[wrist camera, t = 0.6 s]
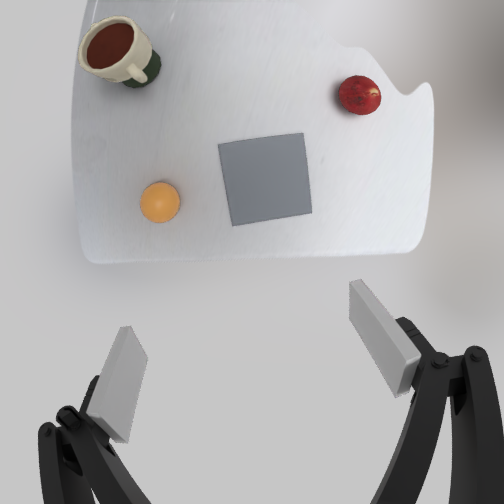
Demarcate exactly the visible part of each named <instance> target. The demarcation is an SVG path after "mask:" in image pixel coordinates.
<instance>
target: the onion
mask: <svg viewBox="0 0 504 504" xmlns="http://www.w3.org/2000/svg"><path fill="white" fill-rule="evenodd" d="M339 99H340V101H341V103H342V105H343V106H344V107H345V108H346V109H347V110H348V111H349V112H352V113H355V114H357V115H367V114H370V113H372V112H374V111H375V110H376V109H377V108H378V107H379V105H380V102H381V93H380V90H379V88H378V86H377V85H376V84H375V83H374V82H373V81H372V80H371V79H369V78H367V77H365V76H357V75H356V76H352V77H349V78H347V79H346V80H345V81H344V82H343V83H342V84H341V86H340V89H339Z"/></svg>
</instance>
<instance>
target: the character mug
mask: <svg viewBox="0 0 504 504" xmlns="http://www.w3.org/2000/svg"><path fill="white" fill-rule="evenodd" d="M78 60H79V64H80V66H81V67H82V68H83V69H84V70H86V71H88V72H90V73H92V74H94V75H96V76H98V77H102V78H104V79H106V80H107V81H110V82H123V83H124V84H125V85H126V86H129V87H133V88H137V87H143V86H145V85H147V84H148V83H150V82H151V81H152V80H153V79H154V78H155V77H156V76H157V74H158V73H159V70H160V67H161V61H160V57H159V55H158V54H157V53H156V52H155V51H154V50H152V44H151V42H150V40H149V39H148V37H147V35H146V34H145V33H144V32H143V31H142V29H141V28H140V27H139V26H138V25H137V23H136V22H135V21H134V20H132V19H130V18H128V17H126V16H112V17H108V18H105V19H103V20H101V21H100V22H98V23H93V24H92V25H91V28H90V30H89V31H88V32H87V33H86V34H85V36H84V37H83V39H82V41H81V44H80V46H79V50H78Z"/></svg>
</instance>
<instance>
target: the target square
mask: <svg viewBox="0 0 504 504" xmlns="http://www.w3.org/2000/svg"><path fill="white" fill-rule="evenodd" d="M218 148H219V153H220V159H221V165H222V170H223V176H224V182H225V187H226V193H227V198H228V204H229V209H230V215H231V220H232V226H237V225H243V224H249V223H254V222H260V221H266V220H272V219H278V218H284V217H291V216H297V215H303V214H310V213H312V205H311V195H310V185H309V175H308V166H307V158H306V150H305V142H304V135H303V133H298V134H288V135H280V136H271V137H264V138H256V139H250V140H243V141H237V142H231V143H225V144H219V145H218Z"/></svg>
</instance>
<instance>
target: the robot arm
mask: <svg viewBox="0 0 504 504" xmlns="http://www.w3.org/2000/svg"><path fill="white" fill-rule="evenodd" d="M349 285H350V286H349V288H350V289H349V290H350V309H349V311H350V312H349V313H350V314H349V319H350V321H351V322H352V324H353V326H354V327H355V329H356V331H357V332H358V334H359V336H360V337H361V339H362V341H363V342H364V344H365V346H366V347H367V349H368V351H369V353H370V354H371V356H372V358H373V359H374V361H375V363H376V365H377V366H378V368H379V370H380V372H381V373H382V375H383V377H384V379H385V380H386V382H387V384H388V386H389V388H390V389H391V391H392V392H393V395H394V396H395V398H397V397H399V396H402V395H404V394H406V393H408V392H409V390H410V387H411V385H412V387H413V388H414V390H415V392H414V395H413V397H412V400H411V405H410V409H409V412H408V415H407V418H406V422H405V424H404V427H403V430H402V433H401V436H400V438H399V441H398V444H397V446H396V449H395V452H394V454H393V456H392V459H391V461H390V464H389V466H388V469H387V471H386V473H385V475H384V477H383V479H382V482H381V483H380V486H379V488H378V490H377V492H376V494H375V496H374V497H373V499H372V501H371V503H370V504H415V503H416V501H417V498H418V496H419V494H420V491H421V489H422V486H423V484H424V481H425V478H426V475H427V472H428V469H429V467H430V464H431V460H432V457H433V454H434V451H435V447H436V443H437V440H438V436H439V432H440V428H441V424H442V420H443V414H444V410H445V404H446V399H447V397H450V405H451V420H452V473H451V488H450V498H449V504H504V434H503V426H502V418H501V412H500V406H499V401H498V396H497V391H496V386H495V382H494V378H493V373H492V369H491V366H490V362H489V358H488V355H487V353H486V351H485V350H484V349H483V348H481V347H479V346H471V347H469V348H467V350H466V351H465V353H464V355H460V356H454V357H449V356H447V355H446V354H445V353H442V352H436V351H435V350H434V348H433V347H432V346H431V344H430V343H429V342H428V341H427V340H426V338H425V337H424V336H423V335H422V334H421V332H420V331H419V330H418V329H417V328H416V326H415V325H414V324H413V323H412V321H410V320H408V319H407V318H405V317H401V318H398V319H394V318H393V317H392V316H391V315H390V314H389V312H388V311H387V309H386V308H385V307H384V306H383V305H382V303H381V302H380V301H379V300H378V298H377V297H376V296H375V295H374V294H373V292H372V291H371V290H370V289H369V288H368V287H367V285H366V284H365V283H364V282H363V281H362V279H359V280H355V281H351V282H350V284H349ZM147 361H148V357H147V355H146V353H145V351H144V350H143V348H142V346H141V344H140V342H139V340H138V338H137V337H136V335H135V333H134V331H133V329H132V327H131V326H126V327H120V330H119V332H118V334H117V336H116V339H115V341H114V343H113V345H112V348H111V350H110V352H109V355H108V357H107V360H106V362H105V364H104V367H103V369H102V372H101V374H100V376H99V375H97V376H95V377H94V379H93V380H92V381H91V382H90V385H89V387H88V390H87V392H86V396H85V397H84V400H83V403H82V405H81V408H80V411H79V412H78V411H77V410H76V409H75V408H74V407H73V406H64V407H62V408H61V409H60V410H59V412H58V413H57V416H56V421H57V422H58V423H59V424H60V425H61V427H56V426H55V425H54V424H53V423H51V422H46V423H44V424H43V425H42V426H41V427H40V429H39V431H38V451H39V467H40V477H41V486H42V494H43V500H44V504H95V501H94V497H93V493H92V490H93V492H94V494H95V495H96V498H97V499H98V501H99V503H100V504H151V503H150V501H149V500H148V499H147V498H146V496H145V495H144V493H143V492H142V491H141V489H140V488H139V487H138V485H137V484H136V483H135V481H134V480H133V478H132V477H131V475H130V474H129V472H128V471H127V469H126V468H125V466H124V465H123V463H122V462H121V460H120V458H119V457H118V455H117V454H116V452H115V450H114V449H113V447H112V445H111V444H110V443H109V439H110V438H112V439H113V440H114V441H115V442H116V443H128V441H129V436H130V431H131V426H132V422H133V417H134V413H135V408H136V404H137V400H138V396H139V392H140V388H141V383H142V380H143V376H144V372H145V368H146V365H147ZM91 488H92V490H91Z"/></svg>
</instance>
